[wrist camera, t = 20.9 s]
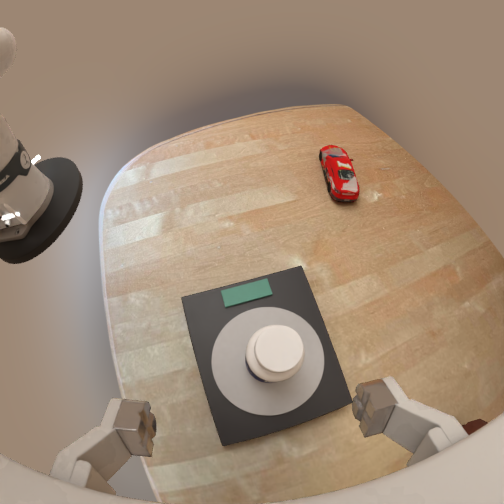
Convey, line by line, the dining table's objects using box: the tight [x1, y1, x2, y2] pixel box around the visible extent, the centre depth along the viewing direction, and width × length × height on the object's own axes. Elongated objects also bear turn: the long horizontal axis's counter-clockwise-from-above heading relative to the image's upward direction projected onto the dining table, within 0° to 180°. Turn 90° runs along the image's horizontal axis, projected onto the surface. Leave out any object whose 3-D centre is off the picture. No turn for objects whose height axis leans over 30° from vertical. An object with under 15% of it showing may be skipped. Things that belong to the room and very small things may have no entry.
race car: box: [319, 145, 359, 202], centre depth 47 cm, size 13×5×4 cm, turn 1°
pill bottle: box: [245, 325, 305, 383], centre depth 26 cm, size 5×5×10 cm
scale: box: [181, 266, 352, 446], centre depth 32 cm, size 16×19×3 cm
